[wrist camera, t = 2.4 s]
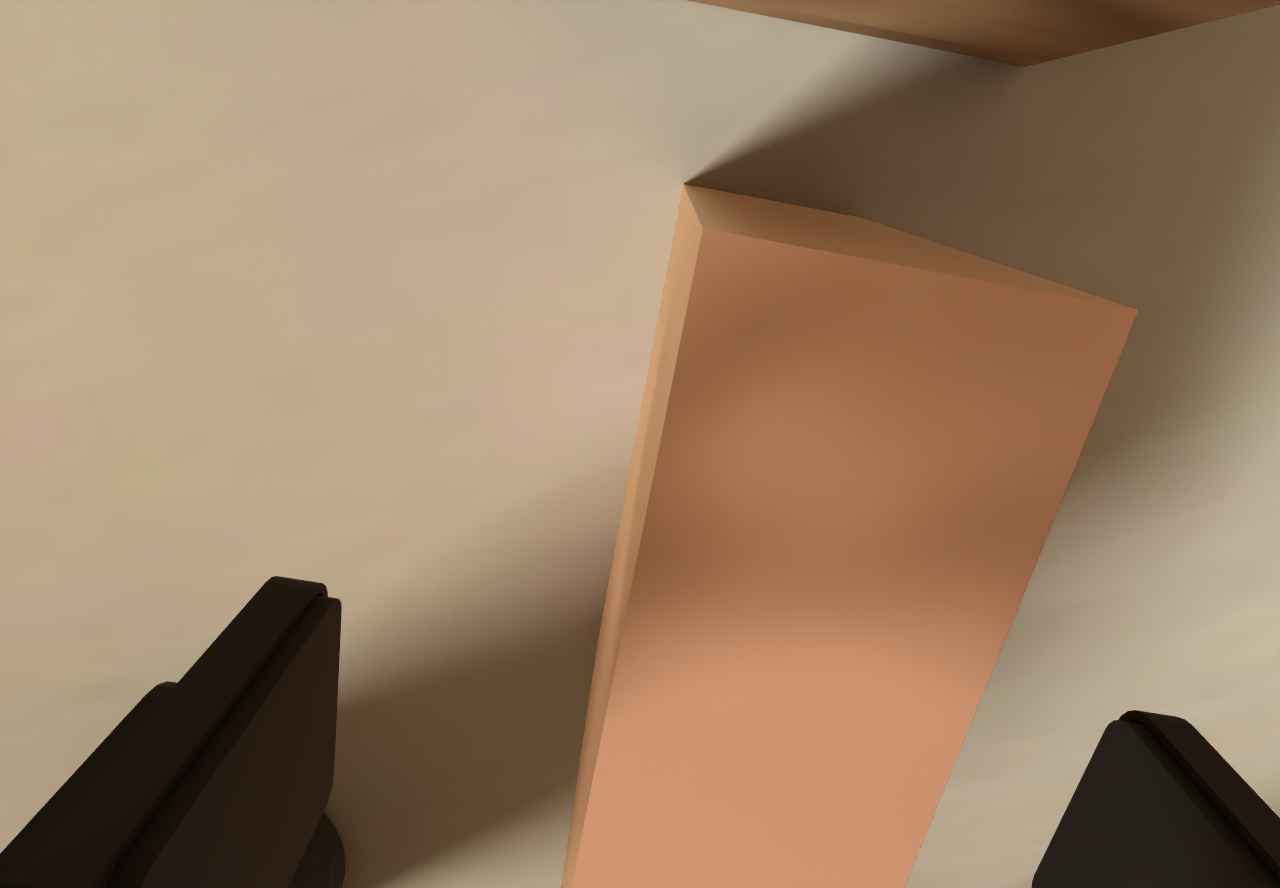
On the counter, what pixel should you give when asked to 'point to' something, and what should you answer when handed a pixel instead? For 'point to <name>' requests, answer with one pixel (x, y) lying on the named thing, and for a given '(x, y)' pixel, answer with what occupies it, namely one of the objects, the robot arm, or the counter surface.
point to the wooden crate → (1002, 22)
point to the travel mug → (321, 860)
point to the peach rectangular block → (820, 543)
